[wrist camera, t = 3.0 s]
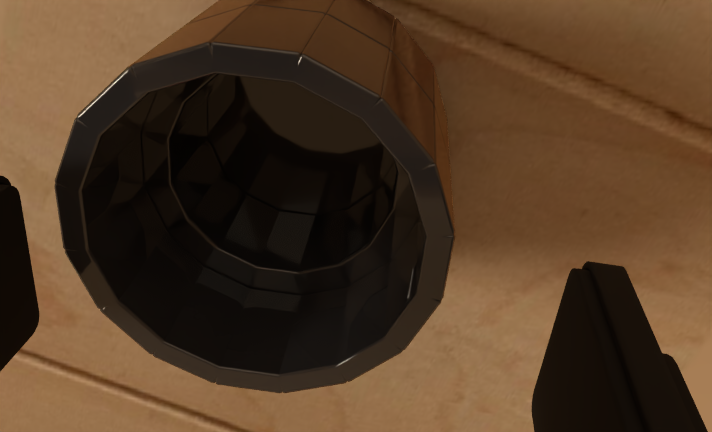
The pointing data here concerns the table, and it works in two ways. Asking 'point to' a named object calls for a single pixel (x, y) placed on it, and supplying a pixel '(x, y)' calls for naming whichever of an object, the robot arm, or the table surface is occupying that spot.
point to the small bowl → (266, 194)
